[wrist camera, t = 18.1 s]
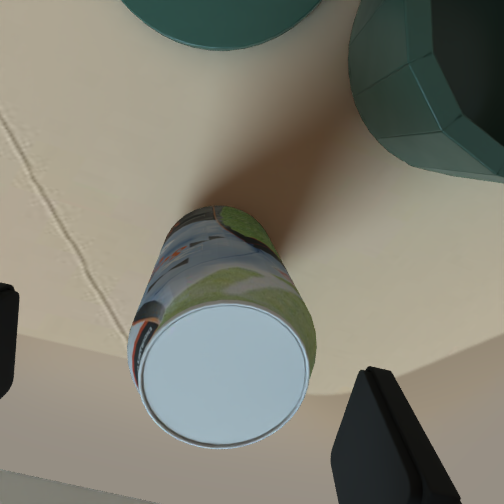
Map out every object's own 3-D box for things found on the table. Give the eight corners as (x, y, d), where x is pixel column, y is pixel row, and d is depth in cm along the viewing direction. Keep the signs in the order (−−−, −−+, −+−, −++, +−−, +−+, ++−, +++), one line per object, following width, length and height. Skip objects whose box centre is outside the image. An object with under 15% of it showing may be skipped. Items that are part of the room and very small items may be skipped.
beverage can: (174, 194, 22) (63, 246, 10) (306, 215, 22) (349, 293, 10) (163, 299, 23) (56, 450, 12) (285, 319, 23) (302, 490, 12)
